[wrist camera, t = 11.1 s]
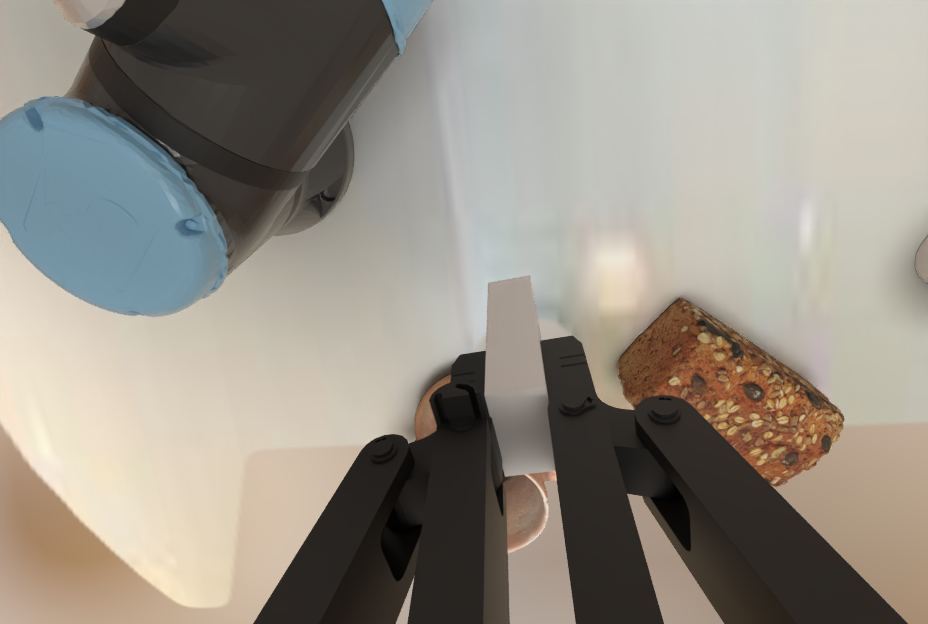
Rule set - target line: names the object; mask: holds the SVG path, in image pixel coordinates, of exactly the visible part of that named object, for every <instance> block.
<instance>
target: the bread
mask: <svg viewBox="0 0 928 624" xmlns="http://www.w3.org/2000/svg"><path fill="white" fill-rule="evenodd" d="M619 370H620V374H619V375H618V377H619V378H620V379H621V385H622V386H623V395H624V397H625V399H626V400H627V401H628V402H629V403H631V404H632V406H633V408H634V410H635V408H636V406H637V405H638V404H639V403H640V402H641V401H642V400H644V399H646V398H648V397H651V396H657V395H670V396H675V397H678V398H681V399H684V400H685V401H687V402H688V403H690V404H691V405H692V406H693V407H694V408H695V409H696V410H697V411H698V412H699V413H700V414H701V415H702V416H703V417H704V418H705V419H706V420H707V421H708V422H709V423H710V424H711V425H712V426H713V427H714V428H715V429H716V430H717V431H718V432H719V433H720V434H721V435H722V436H723V437H724V438H725V439H726V440H727V441H728V442H729V443H730V444H731V445H732V446H733V447H734V448H735V449H736V450H737V451H738V452H739V453H740V455H741V456H742V457H743V458H744V459H745V460H746V461H747V462H748V463H749V464H750V465H751V466H752V467H753V468H754V469H755V470H756V471H757V472H758V473H759V474H760V475H761V476H762V477H763V478H764V479H765V480H766V481H767V482H768V483H769V484H770V485H771V486H772V487H773V488H774V487H777V486H780V485H783V484H785V483H787V481H788V479H790V478H792V477H794V476H795V475H798V474H800V473H801V472H802V471H803V470H809V469H811V468H812V467H814V466H815V465H816V462H817V461H818V460H819V459H820V458H821V457H822V456H823V455H826V454H827V453H828V452H829V450H831V449H832V443H833V442H835V441H837V440H838V438H839V437H840V435H839V433H840V432H841V430H842V429H843V422H844V416H843V414H842V413H841V411H840V410H839V409H838V408H837V407H836V406H835V405H833V404H832V403H831V402H829V400H828V398H827V397H826V396H825V395H824V394H822V393H821V392H820V391H819V390H817V389H816V388H815V387H814V386H813V385H812V384H811V383H809V382H808V381H806V380H805V379H803V378H802V377H801V376H800V375H798V374H797V373H795V372H794V371H792V370H791V369H789V368H788V367H786V366H785V365H783V364H782V363H780V362H779V361H777V360H776V359H774V358H773V357H772V356H770V355H769V354H767V353H766V352H765V351H763V350H761V349H760V348H759V347H757V346H756V345H754V344H753V343H751V342H750V341H748V340H746V339H745V338H743V337H742V336H740V335H739V334H738V333H737V332H735V331H734V330H731V329H730V328H729V327H727V326H726V325H725V324H723V323H721V322H719V321H718V320H716V319H715V318H713V317H712V316H710V315H709V314H707V313H706V312H705V311H703V310H701V309H699V308H697V307H696V306H695V305H693V304H692V303H690V302H687V301H686V300H683V299H680V300H679V301H678V302H677V303H675V304H673V305H672V306H671V307H669V308H668V309H667V310H666V311H665V312H663V313H662V314H661V316H660V317H659V318H658V319H657V320H655V321H654V322H653V323H652V324H651V325H650V327H649V328H648V329H647V330H646V331H645V332H644V333H642V334H641V335H639V337H638V338H637V340H636V341H635V342H634V343H633V344H632V345H631V346H630V347H629V348H628V349H627V350H626V351H625V352H624V354H623V355H622V357H621V359H620V363H619Z"/></svg>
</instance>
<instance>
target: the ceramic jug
mask: <svg viewBox="0 0 928 624" xmlns="http://www.w3.org/2000/svg"><path fill="white" fill-rule="evenodd" d="M450 379H451V374H450V375H448V376H446V377H444V378H443V379H441V380H439V381H438V382H437V383H435V384H434V385H433V386H432V387H431V388H430V389H429V390H428V391H427V392H426V393H425V395H424V396H423V398H422V399H421V401H420V403H419V405H418V408H417V411H416V415H415V434H416V440H415V441H417V440H420V439H423V438H425V437H427V436H429V435H431V434H432V433H433V432H435V431H436V428H437V425H436V421H435V418H434V415H433V412H432V409H431V406H430V402H429V399H430V397H431V395H432V393H434V392H435V391H436V390H437V389H438V388H439V387H441V386H443V385H445V384H447V383H450ZM502 476H503V482H504V486H505V490H506V506H507V545H508V553H511V552H514V551H516V550H518V549H520V548H523V547H524V546H526V545H528V544H529V543H531V542H532V541H533V540H535V539H536V538H537V537H538V536H539V535H540V533H541V532H542V531H543V530H544V528H545V526H546V523H547V520H548V515H549V502H548V496H547V491H546V488H545V485H544V481H557V478H556V471H548V472H540V473H532V474H524V475H516V476H508V477H505V475H504V471H503V467H502Z"/></svg>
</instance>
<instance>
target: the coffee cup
mask: <svg viewBox="0 0 928 624" xmlns="http://www.w3.org/2000/svg"><path fill="white" fill-rule="evenodd" d="M915 268H916V271H917V274H918V275H919V276H920V278H922V279H923V280H924V281H925V282H927V283H928V237H927V238H926V239H925V240H924V242H923V243H922V244H921V246H920V248H919V250H918V252H917V254H916V258H915Z"/></svg>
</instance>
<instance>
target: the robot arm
mask: <svg viewBox="0 0 928 624" xmlns="http://www.w3.org/2000/svg"><path fill="white" fill-rule="evenodd" d="M432 1H433V0H53V2H54V3H55V5H56V7H57V8H58V10H59V12H60V13H61V15H62V16H63V17H64V19H66V20H67V21H68V22H70V23H71V24H73V25H75V26H77V27H79V28H81V29H83V30H85V31H87V32H90V33H92V34H94V35H96V36H95V38H94V40H93V42H92V44H91V47H90V49H89V51H88V53H87V55H86V57H85V59H84V61H83V63H82V66H81V68H80V70H79V72H78V74H77V76H76V78H75V80H74V83H73V85H72V87H71V88H70V90H69V91H68V92H67V94H66V95H65V96H64V97H58V96H55V97H42V98H39V99H36V100H30V101H28V102H27V103H25V104H24V106H23V107H21V108H18V109H16V110H14V111H12V112H10V113H9V114H7V115H6V116H4V117H3V118H2V119H1V120H0V221H1V222H2V223H3V224H4V226H5V227H6V228H7V230H8V231H9V233H10V236H11V238H12V240H13V243H14V244H15V245H16V246H17V248H18V249H19V250H20V251H21V252H22V253H23V255H24V256H25V257H26V258H27V259H28V260H29V261H30V262H31V263H32V264H33V265H34V266H35V267H36V268H37V269H38V270H39V271H41V272H42V273H43V274H44V275H45V276H46V277H48V278H49V279H50V280H51V281H53V282H54V283H55V284H57V285H58V286H60V287H61V288H63V289H64V290H66V291H67V292H69V293H71V294H72V295H74V296H76V297H78V298H79V299H81V300H83V301H85V302H87V303H89V304H92V305H94V306H97V307H99V308H102V309H105V310H108V311H111V312H114V313H118V314H124V315H130V316H137V315H143V316H144V315H146V316H150V317H158V316H165V315H169V314H173V313H176V312H179V311H181V310H183V309H185V308H187V307H189V306H191V305H192V304H194V303H195V302H196V301H198V300H199V299H201V298H205V297H208V296H209V295H210V294H211V293H214V292H215V291H216V290H217V289H218V288H219V287H220V286H221V285H222V283H223V281H224V279H225V278H226V277H227V276H228V275H229V274H230V273H231V272H232V271H233V270H234V269H236V268H237V267H238V266H239V265H240V264H241V263H242V262H243V261H245V260H246V259H247V258H248V257H249V256H250V255H251V254H252V253H254V252H255V251H256V250H257V249H258V248H259V247H260V246H261V245H263V244H264V243H265V242H266V241H267V240H268V239H269V238H270V237H272V236H278V235H288V234H293V233H297V232H300V231H303V230H305V229H307V228H309V227H311V226H313V225H315V224H317V223H318V222H320V221H321V220H322V219H323V218H325V217H326V216H327V215H328V214H329V213H330V212H331V211H332V210H333V209H334V208H335V206H336V205H337V204H338V203H339V202H340V200H341V199H342V197H343V196H344V194H345V192H346V190H347V188H348V185H349V183H350V180H351V176H352V172H353V165H354V145H353V138H352V133H351V130H350V126H349V123H348V120H349V119H350V118H351V116H352V115H353V114H354V112H355V111H356V110H357V108H358V107H359V106H360V104H361V103H362V102H363V100H364V99H365V97H366V96H367V95H368V93H369V92H370V91H371V89H372V88H373V87H374V85H375V84H376V83H377V81H378V80H379V79H380V77H381V76H382V74H383V73H384V72H385V70H386V69H387V68H388V66H389V65H390V64H391V62H392V61H393V60H394V58H395V57H399V56H401V55H402V54H403V52H404V49H405V47H406V40H407V39H408V37H409V36H410V34H411V33H412V31H413V30H414V28H415V27H416V25H417V24H418V22H419V21H420V19H421V18H422V16H423V15H424V13H425V12H426V10H427V9H428V7H429V6H430V4H431V3H432ZM429 402H430V406H431V409H432V412H433V415H434V418H435V421H436V425H437V428H436V431H435V432H433V433H432V434H431V435H429V436H427V437H425V438H423V439H420V440H417V441H415V442H412V443H409V444H408V441H407V439H405V438H404V437H403V436H400V435H395V434H391V435H384V436H381V437H379V438H376V439H374V440H373V441H371V442H370V443H368V444H367V445H366V446H365V447H364V448H363V449H362V450H361V452H360V453H359V455H358V456H357V458H356V460H355V461H354V463H353V464H352V466H351V468H350V469H349V471H348V473H347V474H346V476H345V477H344V479H343V480H342V482H341V484H340V485H339V487H338V489H337V490H336V492H335V494H334V495H333V497H332V498H331V500H330V501H329V503H328V505H327V506H326V508H325V510H324V511H323V513H322V514H321V516H320V518H319V519H318V521H317V523H316V524H315V525H314V527H313V529H312V530H311V532H310V534H309V535H308V537H307V538H306V540H305V541H304V543H303V545H302V546H301V548H300V549H299V551H298V553H297V554H296V556H295V558H294V559H293V561H292V562H291V564H290V566H289V567H288V569H287V570H286V572H285V574H284V575H283V577H282V578H281V580H280V582H279V583H278V585H277V586H276V588H275V590H274V591H273V593H272V595H271V596H270V598H269V599H268V601H267V603H266V604H265V606H264V607H263V609H262V610H261V612H260V614H259V615H258V617H257V619H256V620H255V622H254V623H253V624H396V621H397V618H398V616H399V613H400V611H401V608H402V606H403V603H404V601H405V598H406V596H407V593H408V591H409V588H410V585H411V583H412V581H413V578H414V583H413V590H412V597H411V604H410V610H409V617H408V624H510V623H509V586H508V585H509V583H508V545H507V506H506V490H505V486H504V482H503V476H502V467H503V471H504V475H505V477H508V476H516V475H524V474H532V473H540V472H548V471H556V478H557V485H558V493H559V500H560V508H561V515H562V523H563V530H564V537H565V545H566V552H567V559H568V567H569V575H570V582H571V589H572V597H573V604H574V612H575V620H576V624H664V622H663V619H662V615H661V612H660V608H659V605H658V601H657V598H656V594H655V591H654V588H653V584H652V580H651V576H650V573H649V569H648V566H647V562H646V559H645V556H644V552H643V549H642V545H641V541H640V538H639V534H638V531H637V527H636V524H635V520H634V517H633V513H632V510H631V506H630V503H629V499H628V496H627V494H633V495H639V496H643V499H644V502H645V503H646V505H647V506H648V508H649V510H650V511H651V513H652V514H653V516H654V517H655V519H656V520H657V522H658V523H659V525H660V526H661V528H662V529H663V531H664V532H665V534H666V535H667V537H668V538H669V540H670V541H671V543H672V545H673V546H674V548H675V549H676V550H677V552H678V554H679V555H680V557H681V558H682V560H683V561H684V563H685V564H686V566H687V567H688V569H689V571H690V572H691V574H692V575H693V576H694V578H695V580H696V581H697V583H698V584H699V586H700V587H701V588H702V590H703V592H704V593H705V595H706V596H707V598H708V599H709V601H710V603H711V604H712V605H713V607H714V609H715V610H716V612H717V613H718V615H719V616H720V618H721V619H722V621H723V622H724V624H908V623H906V621H905V620H904V619H903V618H902V617H901V616H900V615H899V614H898V613H897V612H895V610H894V609H893V608H892V607H891V606H890V605H889V604H888V603H887V602H886V601H885V600H884V599H883V598H882V597H881V596H880V595H879V594H878V593H877V592H876V591H875V590H874V589H873V588H872V587H871V586H870V585H869V584H868V583H867V582H866V581H865V580H864V579H863V578H862V577H861V576H860V575H859V574H858V573H857V572H856V571H855V570H854V569H853V568H852V567H851V566H850V565H849V564H848V563H847V562H846V561H845V560H844V559H843V558H842V557H841V556H840V555H839V554H838V553H837V552H836V551H835V550H834V549H833V548H832V547H831V546H830V544H829V543H827V541H826V540H825V539H824V538H823V537H822V536H821V535H820V534H819V533H817V531H816V530H815V529H813V527H812V526H811V525H810V524H809V523H808V522H807V521H806V520H805V519H804V518H803V517H802V516H801V515H800V514H799V513H798V512H796V510H795V509H794V508H793V507H792V506H791V505H790V504H789V503H788V502H787V501H786V500H785V499H784V498H783V497H782V496H781V495H780V494H779V493H778V492H777V491H776V490H775V489H774V488H773V487H772V486H771V485H770V484H769V483H768V482H767V481H766V480H765V479H764V478H763V477H762V476H761V475H760V474H759V473H758V472H757V471H756V470H755V469H754V468H753V467H752V466H751V465H750V464H749V463H748V462H747V461H746V460H745V459H744V458H743V457H742V456H741V455H740V453H739V452H738V451H737V450H736V449H735V448H734V447H733V446H732V445H731V444H730V443H729V442H728V441H727V440H726V439H725V438H724V437H723V436H722V435H721V434H720V433H719V432H718V431H717V430H716V429H715V428H714V427H713V426H712V425H711V424H710V423H709V422H708V421H707V420H706V419H705V418H704V417H703V416H702V415H701V414H700V413H699V412H698V411H697V410H696V409H695V408H694V407H693V406H692V405H691V404H690V403H688V402H687V401H685V400H684V399H681V398H678V397H675V396H670V395H657V396H651V397H648V398H646V399H644V400H642V401H641V402H640V403H639V404H638V405H637V406H636V408H635V410H626V409H619V408H615V407H612V406H609V405H607V404H605V403H604V402H602V401H601V400H600V399H599V398H598V396H597V394H596V392H595V388H594V385H593V381H592V378H591V374H590V371H589V367H588V364H587V360H586V356H585V353H584V349H583V346H582V343H581V342H580V341H578V340H577V339H576V338H575V337H574V336H567V337H561V338H554V339H549V340H543V341H542V340H541V334H540V329H539V323H538V318H537V312H536V307H535V301H534V296H533V290H532V285H531V279H530V276H524V277H519V278H513V279H508V280H502V281H497V282H491V283H488V301H487V332H486V351H481V352H475V353H469V354H463V355H460V356H459V357H458V358H457V360H456V361H455V362H454V364H453V365H452V372H451V379H450V383H447V384H445V385H443V386H441V387H439V388H438V389H437V390H436V391H435V392H434V393H432V395H431V397H430V399H429ZM414 575H415V577H414Z"/></svg>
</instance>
